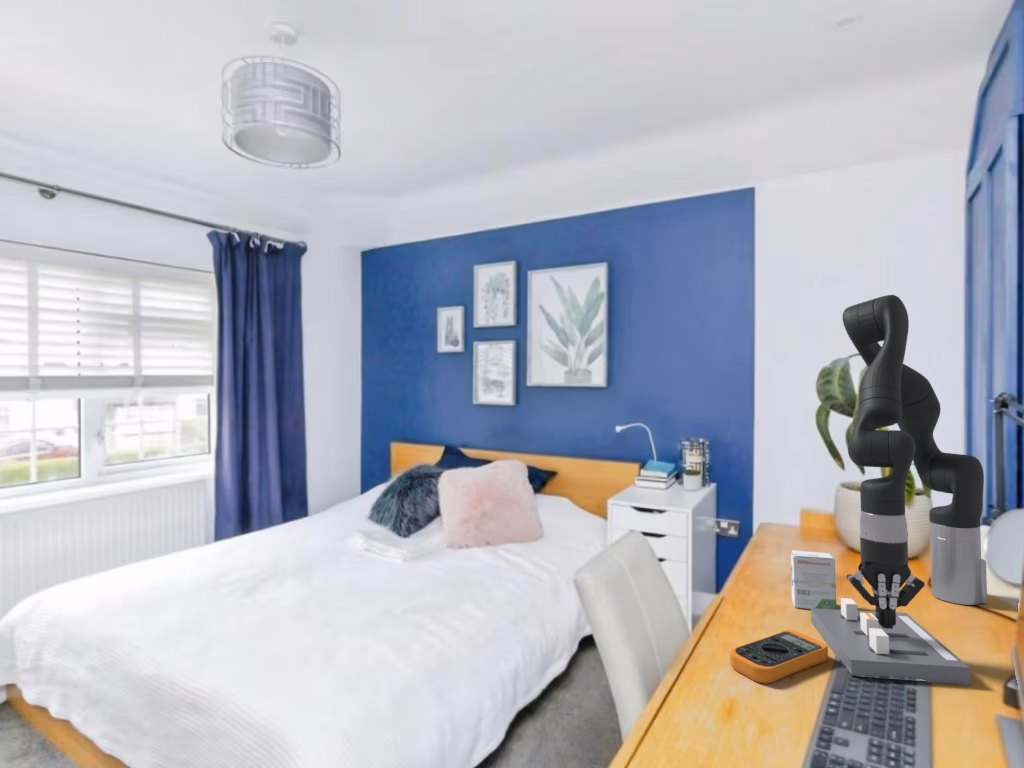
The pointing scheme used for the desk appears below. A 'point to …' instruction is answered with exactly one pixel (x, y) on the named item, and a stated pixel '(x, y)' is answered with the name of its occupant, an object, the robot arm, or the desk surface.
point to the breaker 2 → (879, 641)
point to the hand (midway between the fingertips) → (885, 626)
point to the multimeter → (777, 656)
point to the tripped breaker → (868, 622)
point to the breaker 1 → (849, 609)
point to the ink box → (813, 580)
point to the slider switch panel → (890, 649)
